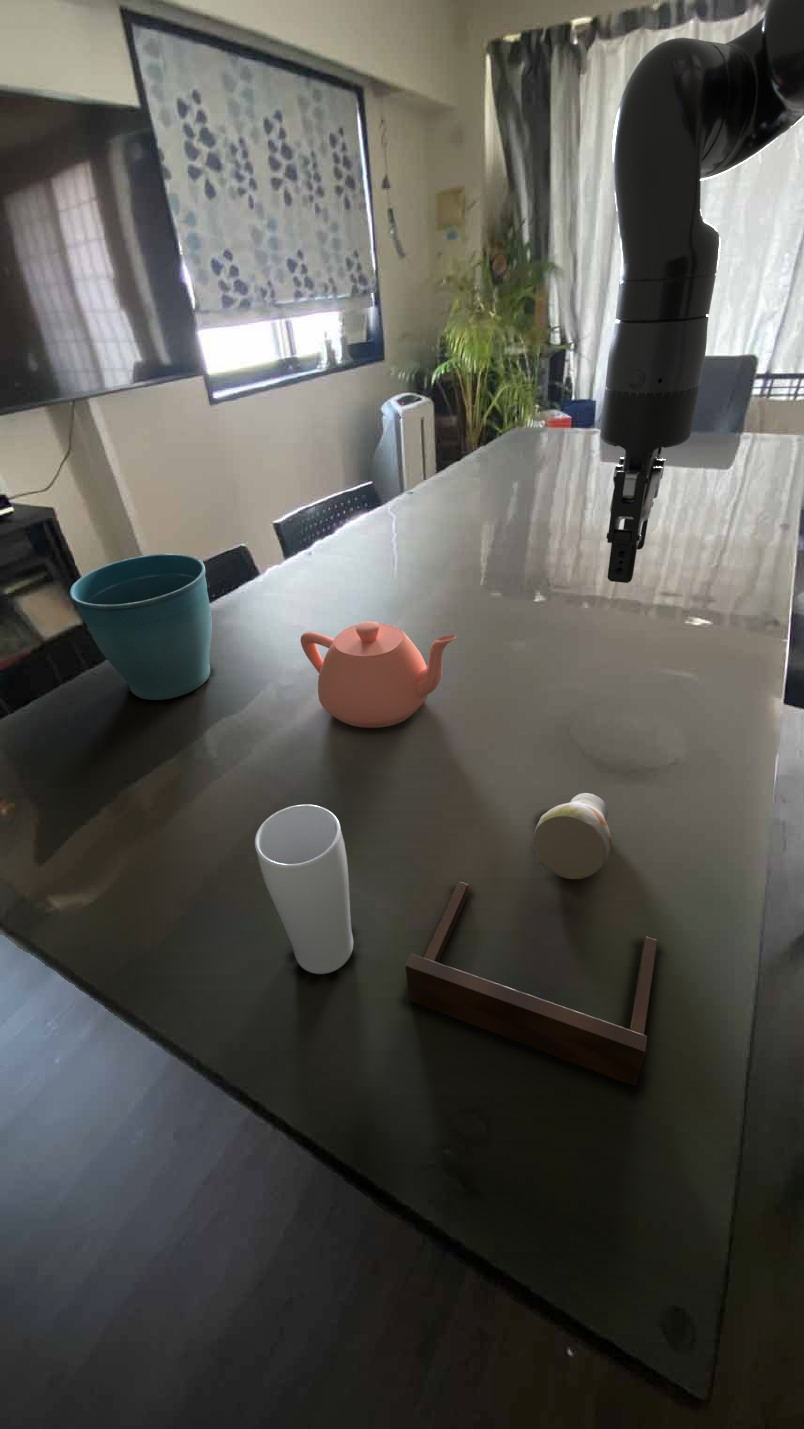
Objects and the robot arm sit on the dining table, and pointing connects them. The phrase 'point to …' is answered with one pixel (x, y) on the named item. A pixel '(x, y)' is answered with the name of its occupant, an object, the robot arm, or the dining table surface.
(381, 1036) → the dining table surface
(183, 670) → the flower pot
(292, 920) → the drinking glass
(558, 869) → the mug
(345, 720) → the teapot
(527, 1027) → the walnut rack
